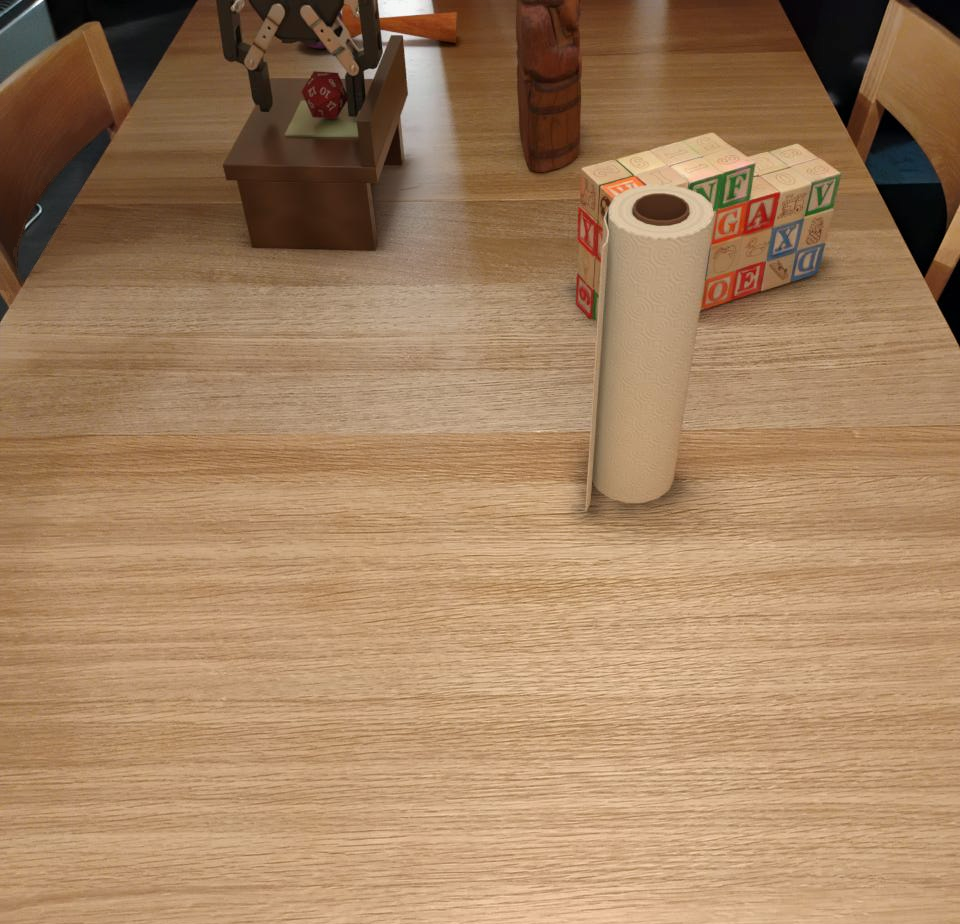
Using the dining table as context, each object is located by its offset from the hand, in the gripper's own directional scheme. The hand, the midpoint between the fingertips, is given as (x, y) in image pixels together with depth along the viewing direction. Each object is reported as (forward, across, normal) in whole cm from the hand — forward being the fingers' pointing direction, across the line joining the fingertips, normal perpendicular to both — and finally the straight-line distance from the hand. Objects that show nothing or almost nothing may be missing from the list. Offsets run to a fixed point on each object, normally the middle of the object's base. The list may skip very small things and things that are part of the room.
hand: (310, 110), depth 94 cm
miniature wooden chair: (+9, -1, 0) cm, 9 cm away
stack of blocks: (+7, -37, +14) cm, 40 cm away
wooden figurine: (+8, -22, -12) cm, 26 cm away
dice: (+1, -2, 0) cm, 2 cm away
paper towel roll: (+8, -31, +40) cm, 51 cm away
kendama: (+9, +1, -38) cm, 39 cm away
